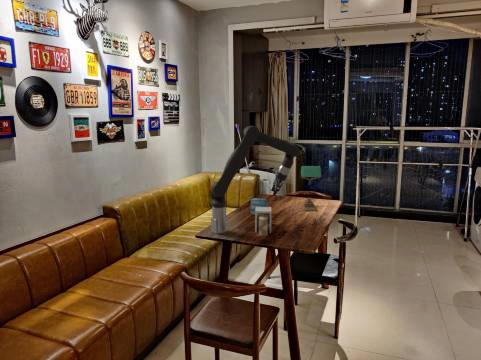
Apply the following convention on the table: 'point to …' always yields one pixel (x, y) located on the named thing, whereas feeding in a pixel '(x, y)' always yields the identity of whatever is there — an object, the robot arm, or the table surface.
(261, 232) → the maple block
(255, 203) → the data package
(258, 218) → the grey open box
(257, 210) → the tunnel
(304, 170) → the banker's lamp
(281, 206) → the table surface
